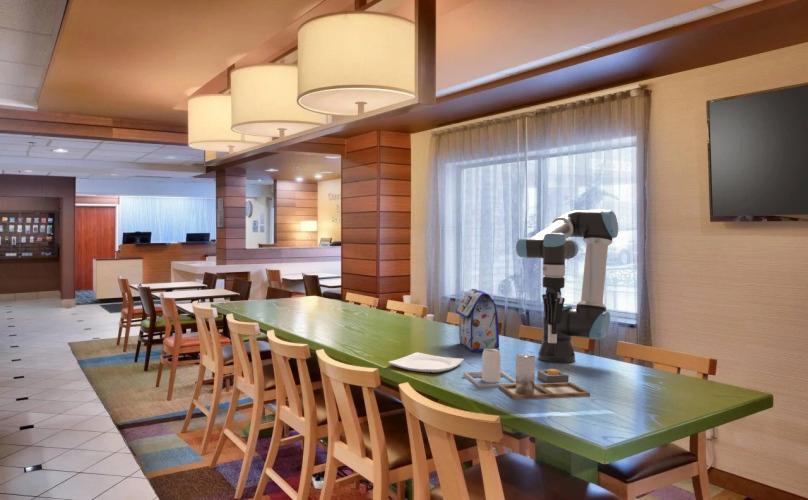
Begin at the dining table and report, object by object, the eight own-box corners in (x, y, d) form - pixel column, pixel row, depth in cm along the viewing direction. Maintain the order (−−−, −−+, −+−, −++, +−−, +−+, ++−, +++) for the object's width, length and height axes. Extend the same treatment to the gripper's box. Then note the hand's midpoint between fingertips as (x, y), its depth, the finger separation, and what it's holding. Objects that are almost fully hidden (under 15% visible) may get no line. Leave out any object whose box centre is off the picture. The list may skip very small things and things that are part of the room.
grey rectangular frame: (502, 375, 210) (502, 370, 210) (520, 388, 192) (521, 383, 192) (463, 377, 207) (463, 372, 207) (478, 390, 190) (479, 385, 190)
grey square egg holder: (558, 379, 206) (558, 369, 206) (568, 385, 198) (568, 375, 198) (537, 380, 204) (537, 370, 204) (547, 386, 196) (547, 376, 196)
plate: (439, 377, 207) (439, 370, 207) (383, 368, 220) (383, 361, 220) (467, 365, 228) (467, 358, 228) (415, 357, 241) (415, 351, 241)
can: (500, 385, 196) (500, 351, 196) (481, 384, 197) (481, 350, 197) (500, 381, 202) (501, 347, 202) (482, 379, 204) (483, 346, 203)
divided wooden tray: (570, 388, 194) (570, 382, 194) (589, 398, 182) (589, 392, 181) (498, 390, 189) (499, 385, 189) (513, 402, 177) (513, 395, 177)
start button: (555, 379, 203) (555, 368, 203) (560, 382, 199) (560, 371, 199) (545, 380, 203) (545, 368, 203) (549, 382, 199) (550, 371, 199)
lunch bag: (453, 343, 272) (454, 288, 272) (486, 342, 275) (487, 288, 274) (466, 353, 250) (467, 292, 249) (501, 352, 253) (503, 292, 252)
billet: (529, 389, 188) (530, 353, 187) (537, 394, 182) (538, 357, 182) (512, 390, 187) (513, 354, 186) (519, 395, 181) (520, 358, 180)
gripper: (536, 275, 206) (534, 339, 206) (552, 277, 193) (550, 346, 194) (555, 275, 207) (553, 339, 208) (572, 277, 194) (570, 346, 195)
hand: (552, 342), depth 201 cm, fingers closed
